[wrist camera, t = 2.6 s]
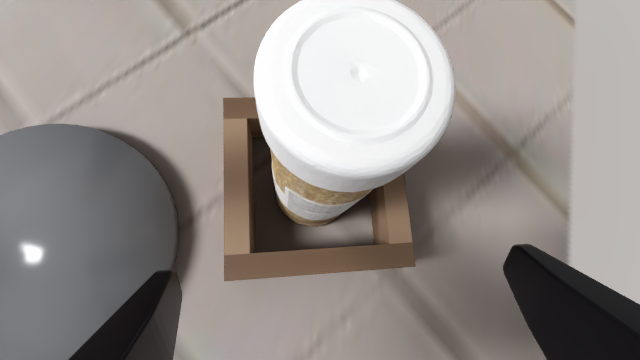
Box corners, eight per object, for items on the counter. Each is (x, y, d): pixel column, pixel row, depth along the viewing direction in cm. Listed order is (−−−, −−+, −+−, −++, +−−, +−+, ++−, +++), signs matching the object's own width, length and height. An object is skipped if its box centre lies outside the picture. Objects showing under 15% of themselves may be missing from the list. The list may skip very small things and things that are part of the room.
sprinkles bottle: (286, 146, 20) (286, -46, 7) (356, 166, 21) (477, 12, 8) (264, 217, 19) (219, 138, 6) (339, 237, 20) (445, 202, 6)
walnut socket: (396, 264, 19) (415, 266, 17) (234, 277, 18) (224, 281, 16) (379, 116, 21) (393, 95, 19) (232, 120, 20) (223, 97, 18)
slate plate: (104, 414, 16) (93, 424, 15) (-141, 318, 16) (-168, 322, 15) (217, 179, 20) (213, 175, 19) (12, 98, 19) (-2, 89, 18)
